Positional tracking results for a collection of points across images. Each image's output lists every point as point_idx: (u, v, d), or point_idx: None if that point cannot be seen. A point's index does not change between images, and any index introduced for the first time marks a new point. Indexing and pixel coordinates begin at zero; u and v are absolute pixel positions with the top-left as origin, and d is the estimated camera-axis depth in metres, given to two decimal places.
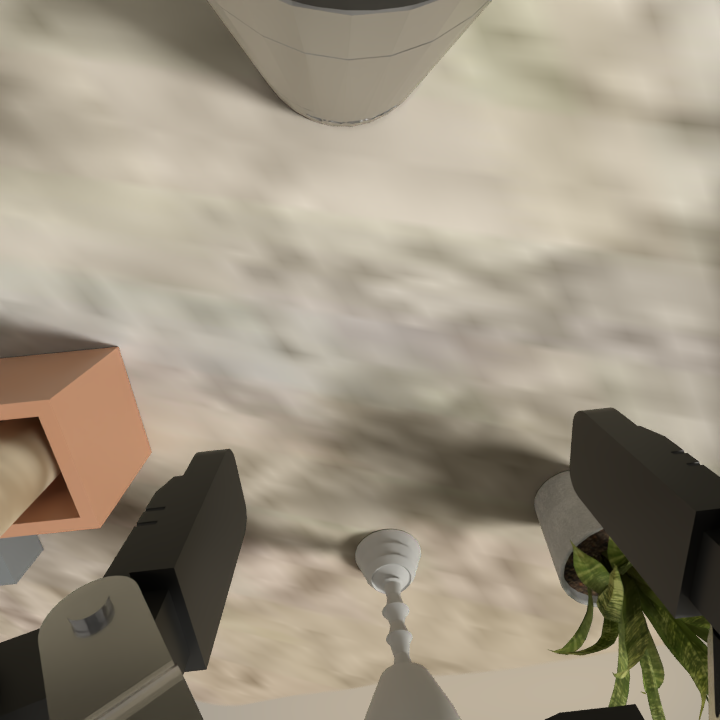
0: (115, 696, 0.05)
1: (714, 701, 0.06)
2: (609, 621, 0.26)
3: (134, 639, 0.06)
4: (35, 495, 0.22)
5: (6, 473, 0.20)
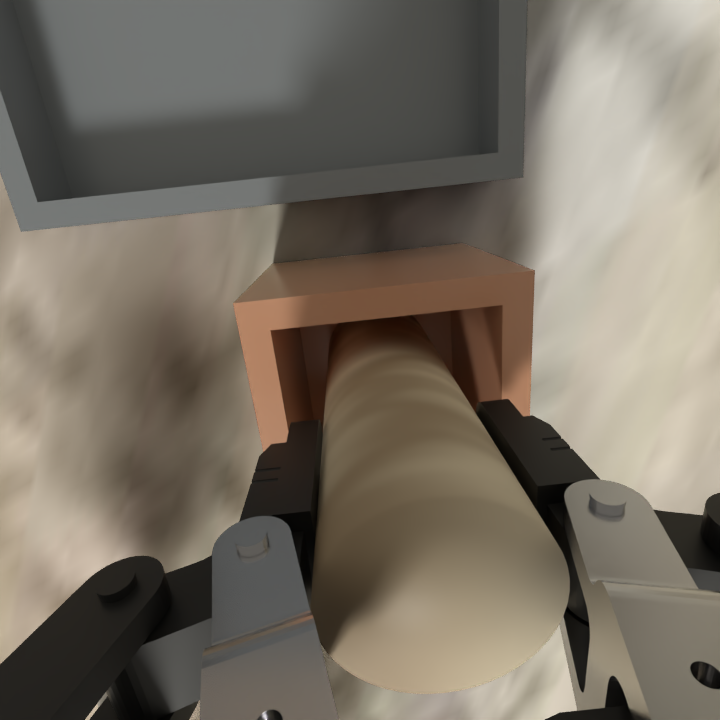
0: (261, 622, 0.06)
1: (576, 675, 0.06)
2: None
3: (281, 578, 0.06)
4: None
5: None
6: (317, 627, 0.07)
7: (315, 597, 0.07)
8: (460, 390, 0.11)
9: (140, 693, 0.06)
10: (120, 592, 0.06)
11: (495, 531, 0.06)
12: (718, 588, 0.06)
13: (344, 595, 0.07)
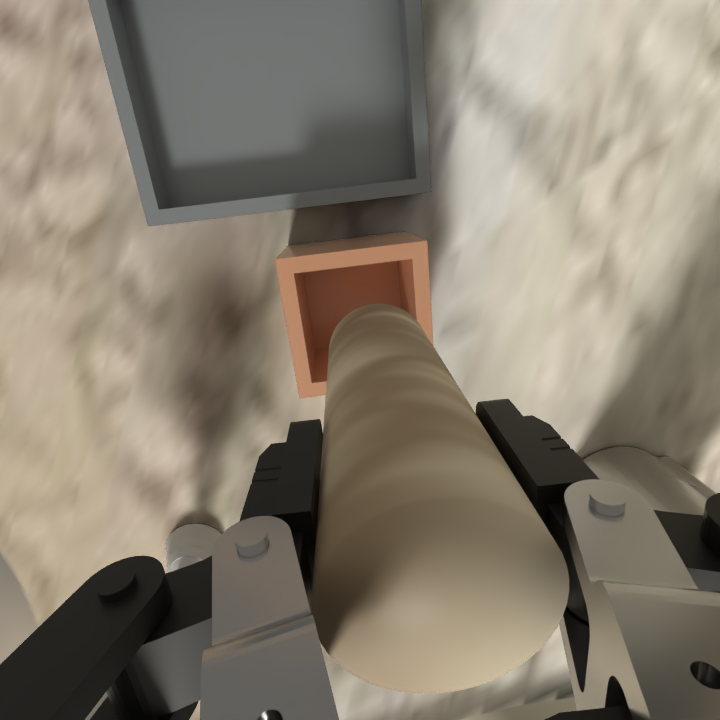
0: (261, 621, 0.06)
1: (575, 675, 0.06)
2: None
3: (281, 577, 0.06)
4: None
5: None
6: (317, 627, 0.07)
7: (315, 597, 0.07)
8: (460, 391, 0.11)
9: (140, 693, 0.06)
10: (120, 592, 0.06)
11: (495, 531, 0.06)
12: (718, 588, 0.06)
13: (344, 595, 0.07)
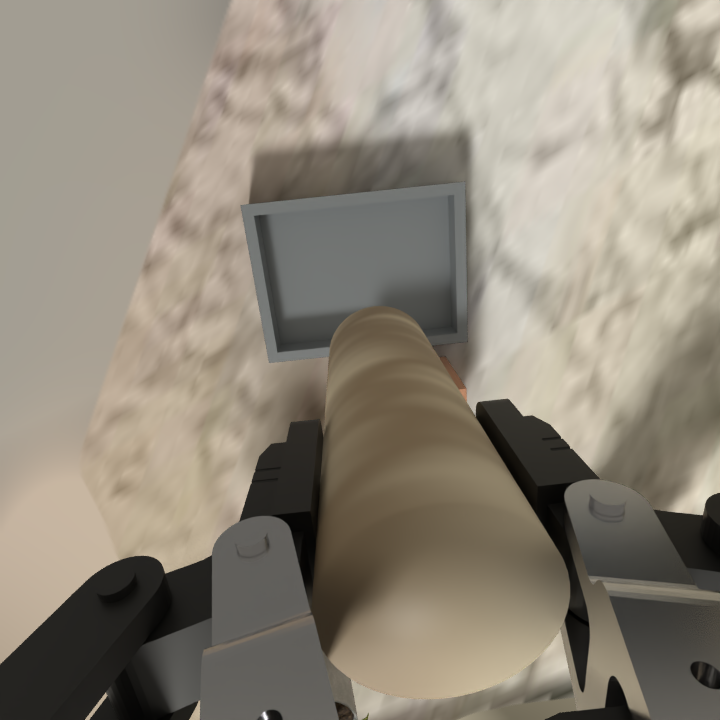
0: (261, 621, 0.06)
1: (576, 675, 0.06)
2: None
3: (281, 577, 0.06)
4: None
5: None
6: (318, 633, 0.07)
7: (316, 603, 0.07)
8: (460, 394, 0.11)
9: (140, 693, 0.06)
10: (120, 592, 0.06)
11: (496, 537, 0.06)
12: (718, 588, 0.06)
13: (345, 601, 0.07)
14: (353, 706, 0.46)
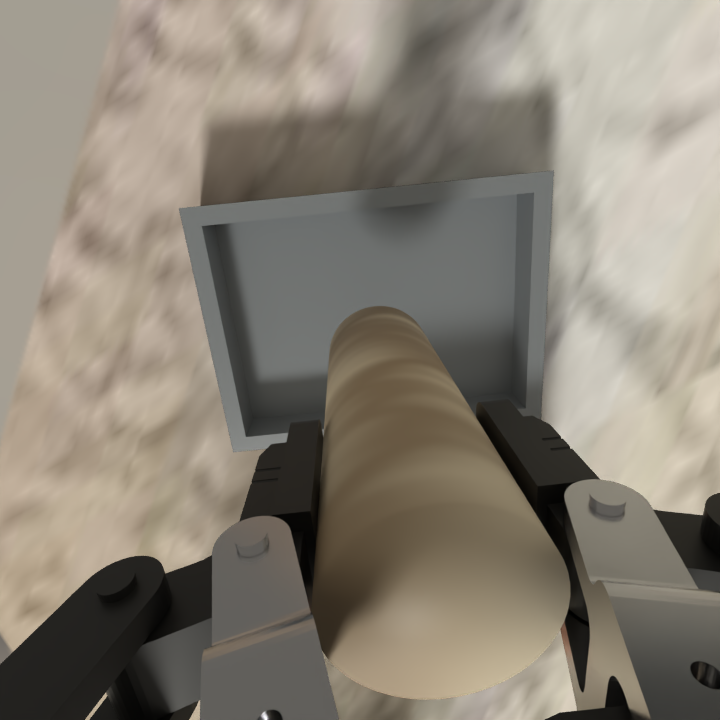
0: (261, 622, 0.06)
1: (576, 675, 0.06)
2: None
3: (281, 577, 0.06)
4: None
5: None
6: (318, 633, 0.07)
7: (316, 603, 0.07)
8: (460, 394, 0.11)
9: (140, 693, 0.06)
10: (120, 592, 0.06)
11: (496, 537, 0.06)
12: (718, 588, 0.06)
13: (345, 601, 0.07)
14: None
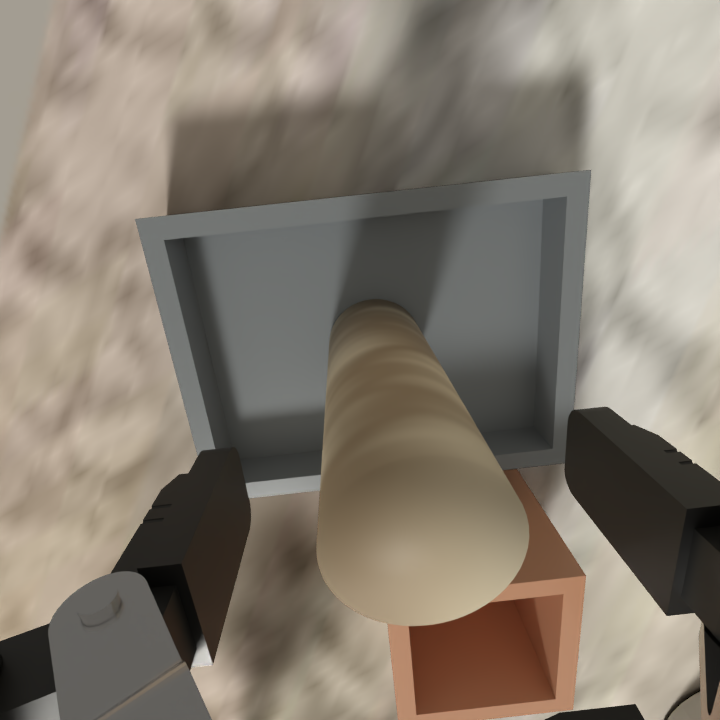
0: (123, 691, 0.05)
1: (706, 698, 0.06)
2: None
3: (142, 635, 0.06)
4: None
5: None
6: (322, 566, 0.08)
7: (320, 541, 0.08)
8: (446, 377, 0.13)
9: None
10: None
11: (467, 486, 0.08)
12: None
13: (344, 539, 0.08)
14: None
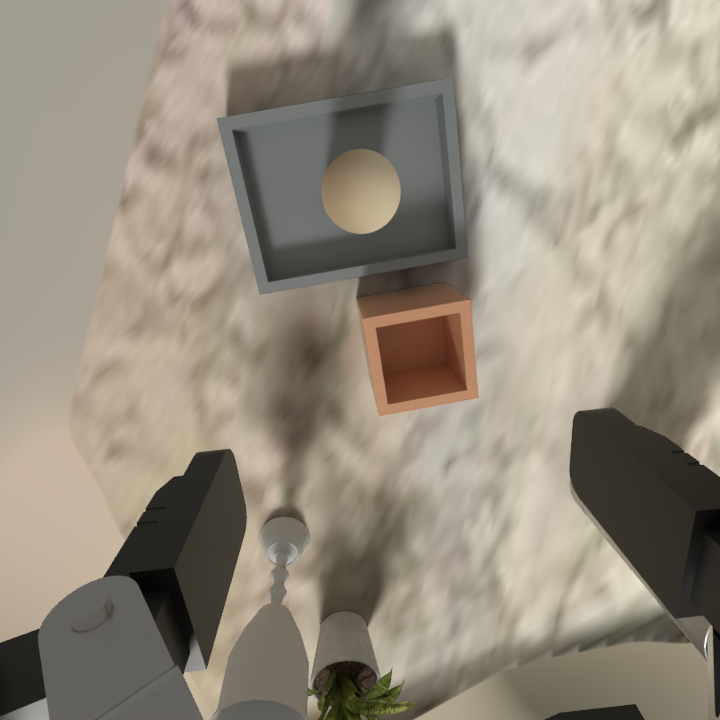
0: (115, 697, 0.05)
1: (714, 701, 0.06)
2: None
3: (134, 639, 0.05)
4: None
5: None
6: (323, 202, 0.22)
7: (322, 189, 0.22)
8: None
9: None
10: None
11: (373, 162, 0.22)
12: None
13: (331, 188, 0.22)
14: (375, 666, 0.44)
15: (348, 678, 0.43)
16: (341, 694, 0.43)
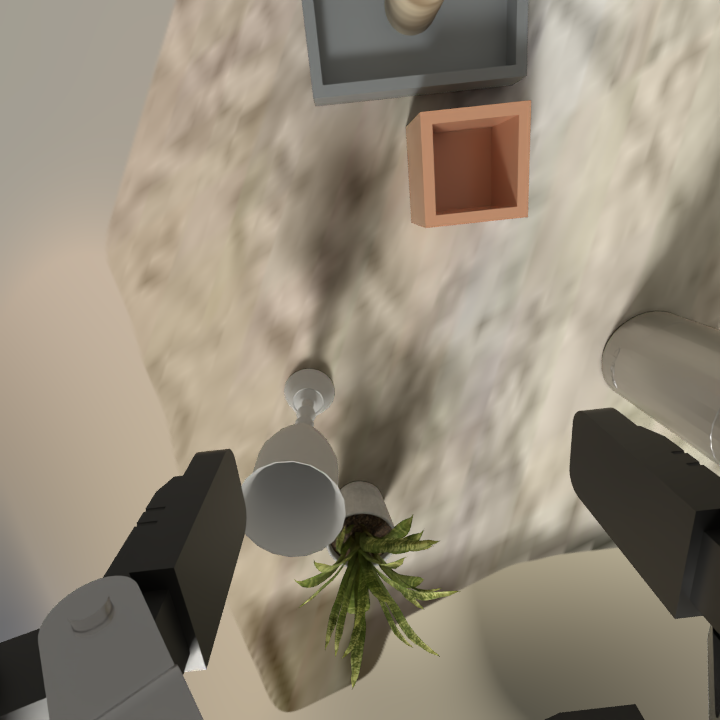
0: (115, 696, 0.05)
1: (714, 701, 0.06)
2: (340, 547, 0.41)
3: (134, 639, 0.05)
4: None
5: None
6: None
7: None
8: None
9: None
10: None
11: None
12: None
13: None
14: None
15: (366, 530, 0.42)
16: (357, 545, 0.42)
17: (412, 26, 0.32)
